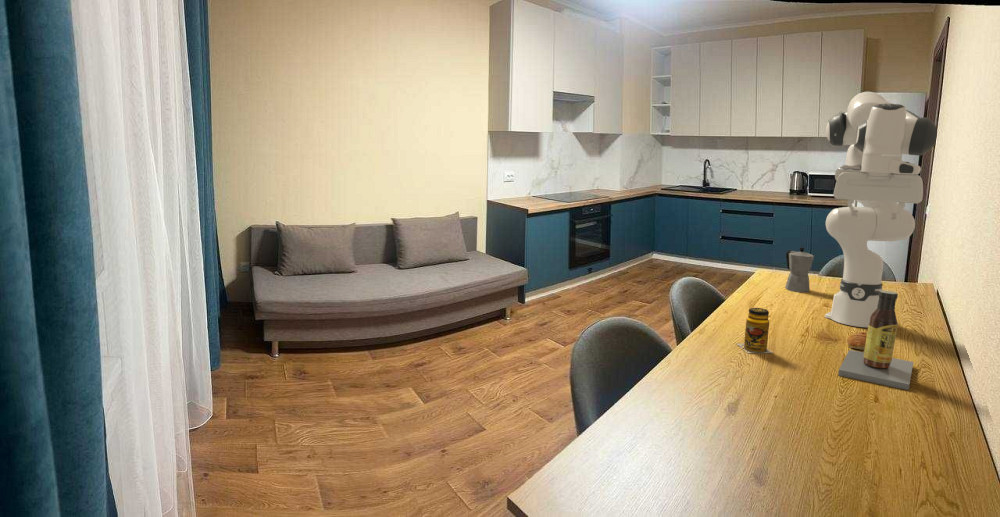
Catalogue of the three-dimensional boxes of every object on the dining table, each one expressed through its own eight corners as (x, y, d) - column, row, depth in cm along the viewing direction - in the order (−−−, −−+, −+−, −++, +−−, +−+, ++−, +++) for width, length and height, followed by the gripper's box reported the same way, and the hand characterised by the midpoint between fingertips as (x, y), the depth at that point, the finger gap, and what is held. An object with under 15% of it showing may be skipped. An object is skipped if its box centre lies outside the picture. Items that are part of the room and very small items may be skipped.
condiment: (748, 353, 167) (752, 312, 165) (735, 343, 175) (739, 304, 173) (773, 353, 167) (778, 313, 165) (759, 344, 176) (763, 305, 173)
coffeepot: (818, 293, 241) (823, 249, 238) (798, 294, 239) (803, 250, 236) (792, 284, 256) (797, 243, 253) (773, 285, 254) (777, 244, 251)
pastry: (869, 353, 170) (871, 340, 169) (842, 348, 174) (844, 336, 173) (874, 345, 177) (876, 333, 176) (848, 341, 181) (850, 329, 180)
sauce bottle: (879, 371, 151) (890, 295, 147) (856, 362, 157) (867, 290, 153) (896, 368, 154) (908, 293, 150) (874, 360, 159) (884, 288, 156)
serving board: (848, 354, 168) (849, 349, 167) (912, 367, 159) (913, 361, 159) (838, 375, 152) (838, 369, 152) (908, 390, 143) (909, 384, 143)
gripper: (834, 165, 161) (828, 215, 163) (926, 167, 149) (918, 222, 151) (838, 164, 166) (832, 214, 168) (927, 167, 154) (919, 220, 156)
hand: (873, 218), depth 160 cm, fingers open, 8 cm apart
